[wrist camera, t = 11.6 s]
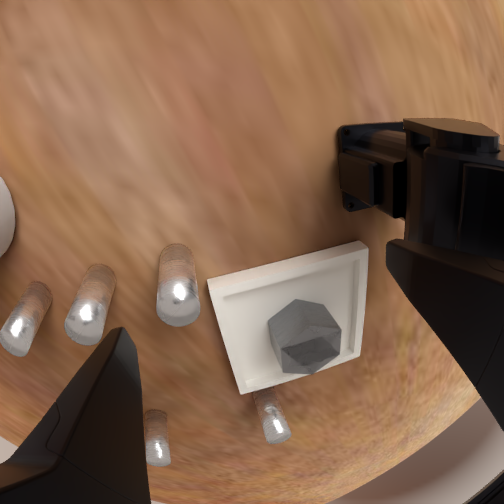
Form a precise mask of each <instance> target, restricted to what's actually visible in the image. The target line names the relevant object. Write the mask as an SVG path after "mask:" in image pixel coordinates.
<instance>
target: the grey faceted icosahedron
mask: <svg viewBox="0 0 504 504" xmlns="http://www.w3.org/2000/svg"><path fill="white" fill-rule="evenodd" d="M268 326H269V333H270V340H271V345H272V348H273V350H274V353H275V355H276V357H277V360H278V362H279V365H280V367H281V369H282V372H283V373H294V374H314V373H315V372H316V371H318V370H319V369H321V368H322V367H323V366H325V365H326V364H328V363H329V362H330V361H332V360H333V359H334V358H336V357H337V356H338V355H340V346H341V332H342V329H341V328H340V327H339V325H338V324H337V322H336V321H335V320H334V318H333V317H332V315H331V314H330V313H329V311H328V310H327V308H326V307H325V306H324V304H319V303H314V302H309V301H304V300H299V299H295V300H293V301H292V302H291V303H289V304H288V305H287V306H286V307H284V308H283V309H282V310H280V311H279V312H278V313H277V314H275V315H274V316H273V317H271V318H270V319H269V320H268Z"/></svg>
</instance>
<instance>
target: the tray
mask: <svg viewBox="0 0 504 504" xmlns="http://www.w3.org/2000/svg"><path fill="white" fill-rule="evenodd" d="M368 251H369V248H368V247H367V246H366V245H364V244H363V243H362V242H361V241H359V240H358V241H354V242H351V243H347V244H343V245H339V246H336V247H332V248H328V249H324V250H320V251H317V252H313V253H309V254H305V255H301V256H297V257H294V258H290V259H286V260H282V261H278V262H274V263H270V264H266V265H262V266H258V267H254V268H251V269H247V270H243V271H239V272H235V273H231V274H227V275H223V276H219V277H215V278H211V279H207V283H208V288H209V292H210V296H211V299H212V303H213V306H214V310H215V313H216V317H217V320H218V324H219V327H220V330H221V334H222V337H223V340H224V344H225V347H226V350H227V353H228V357H229V360H230V363H231V366H232V369H233V373H234V376H235V379H236V382H237V385H238V388H239V391H240V394H245V393H249V392H253V391H257V390H260V389H264V388H267V387H271V386H274V385H278V384H281V383H284V382H288V381H291V380H294V379H297V378H300V377H303V376H306V375H309V374H294V373H283V372H282V369H281V367H280V365H279V362H278V360H277V357H276V355H275V353H274V350H273V348H272V345H271V340H270V333H269V326H268V320H269V319H270V318H271V317H273V316H274V315H275V314H277V313H278V312H279V311H280V310H282V309H283V308H284V307H286V306H287V305H288V304H289V303H291V302H292V301H293V300H295V299H299V300H304V301H309V302H314V303H319V304H324V306H325V307H326V308H327V310H328V311H329V313H330V314H331V315H332V317H333V318H334V320H335V321H336V322H337V324H338V325H339V327H340V328H341V329H342V332H341V346H340V355H338V356H337V357H336V358H334V359H333V360H332V361H330V362H329V363H328V364H326V365H325V366H323V367H322V368H321V369H319V370H318V371H321V370H324V369H327V368H330V367H332V366H335V365H338V364H340V363H343V362H346V361H348V360H351V359H354V358H356V357H359V356H360V351H361V342H362V334H363V324H364V314H365V302H366V289H367V273H368ZM318 371H316V372H318Z"/></svg>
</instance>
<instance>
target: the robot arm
mask: <svg viewBox="0 0 504 504" xmlns="http://www.w3.org/2000/svg"><path fill="white" fill-rule="evenodd" d="M403 126H404V130H403ZM345 129H346V130H347V134H346V135H344V130H345ZM338 138H339V149H340V154H339V156H338V160H339V174H340V188H341V189H342V194H343V207H344V209H346V210H347V211H349V212H352V211H357V210H361V209H366V208H370V207H376V208H377V209H379V210H381V211H383V212H384V213H386V214H388V215H389V216H391V217H393V218H400V219H402V220H404V221H405V232H404V240H402V239H394V240H391V241H389V242H387V244H386V266H387V269H388V270H389V272H390V273H391V275H392V276H393V278H394V279H395V280H396V282H397V283H398V285H399V286H400V288H401V289H402V291H403V292H404V294H405V295H406V297H407V298H408V300H409V301H410V302H411V303H412V305H413V306H414V307H415V308H416V310H417V311H418V312H419V313H420V315H421V316H422V317H423V318H424V320H425V321H426V322H427V323H428V325H429V326H430V327H431V328H432V330H433V331H434V332H435V333H436V335H437V336H438V337H439V339H440V340H441V341H442V343H443V344H444V345H445V347H446V348H447V349H448V351H449V352H450V353H451V355H452V356H453V357H454V359H455V360H456V361H457V363H458V364H459V365H460V367H461V368H462V370H463V371H464V372H465V374H466V375H467V377H468V378H469V380H470V381H471V382H472V384H473V385H474V387H475V388H476V390H477V391H478V393H479V394H480V396H481V397H482V399H483V400H484V402H485V403H486V405H487V406H488V408H489V409H490V411H491V412H492V414H493V416H494V417H495V419H496V421H497V422H498V424H499V425H500V427H501V429H502V430H503V431H504V145H501V144H499V134H497V133H496V132H494V131H493V130H491V129H490V128H488V127H486V126H485V125H483V124H481V123H477V122H471V121H465V120H458V119H446V118H408V119H403V122H382V123H365V124H351V125H342V126H341V127H339V129H338ZM349 203H351V206H350V207H348V205H349ZM0 504H151V499H150V492H149V484H148V475H147V465H146V454H145V442H144V426H143V405H142V388H141V380H140V372H139V364H138V356H137V349H136V346H135V344H134V342H133V341H132V339H131V338H130V336H129V334H128V333H127V331H126V329H125V328H124V327H118V328H115V329H112V330H111V331H110V332H109V333H108V334H107V336H106V337H105V338H104V339H103V340H102V342H101V343H100V344H99V345H98V347H97V348H96V349H95V350H94V352H93V353H92V354H91V355H90V357H89V358H88V359H87V360H86V362H85V363H84V364H83V366H82V367H81V368H80V369H79V371H78V372H77V373H76V375H75V376H74V377H73V378H72V380H71V381H70V382H69V384H68V385H67V386H66V388H65V389H64V390H63V392H62V393H61V394H60V396H59V397H58V398H57V400H56V402H54V404H53V405H52V406H51V408H50V409H49V410H48V412H47V413H46V414H45V416H44V417H43V418H42V420H41V421H40V422H39V423H38V425H37V426H36V427H35V428H34V429H33V431H32V432H31V433H30V434H29V435H28V437H27V438H26V439H25V440H24V441H23V443H22V444H21V445H20V446H19V448H18V449H17V450H16V451H15V452H14V454H13V455H12V456H11V457H10V458H9V459H8V460H6V461H5V462H3V463H1V464H0ZM463 504H504V470H503V471H502V472H500V473H499V474H498V475H497V476H496V477H495V478H494V479H493V480H492V481H491V482H489V483H488V484H487V485H486V486H485V487H483V489H481V490H480V491H479V492H477V493H476V494H475V495H474V496H473V497H471V498H470V499H469V500H467V501H466V502H465V503H463Z"/></svg>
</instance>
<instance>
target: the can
mask: <svg viewBox="0 0 504 504" xmlns="http://www.w3.org/2000/svg"><path fill="white" fill-rule="evenodd" d="M14 229H15V211H14V205H13V202H12V198H11V195H10V192H9V190H8V188H7V186H6V185H5V183H4V181H3V179H2V178H1V177H0V257H1V256H2V255H3V254H4V253H5V252H6V251H7V249H8V247H9V245H10V243H11V241H12V239H13V235H14Z"/></svg>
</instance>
